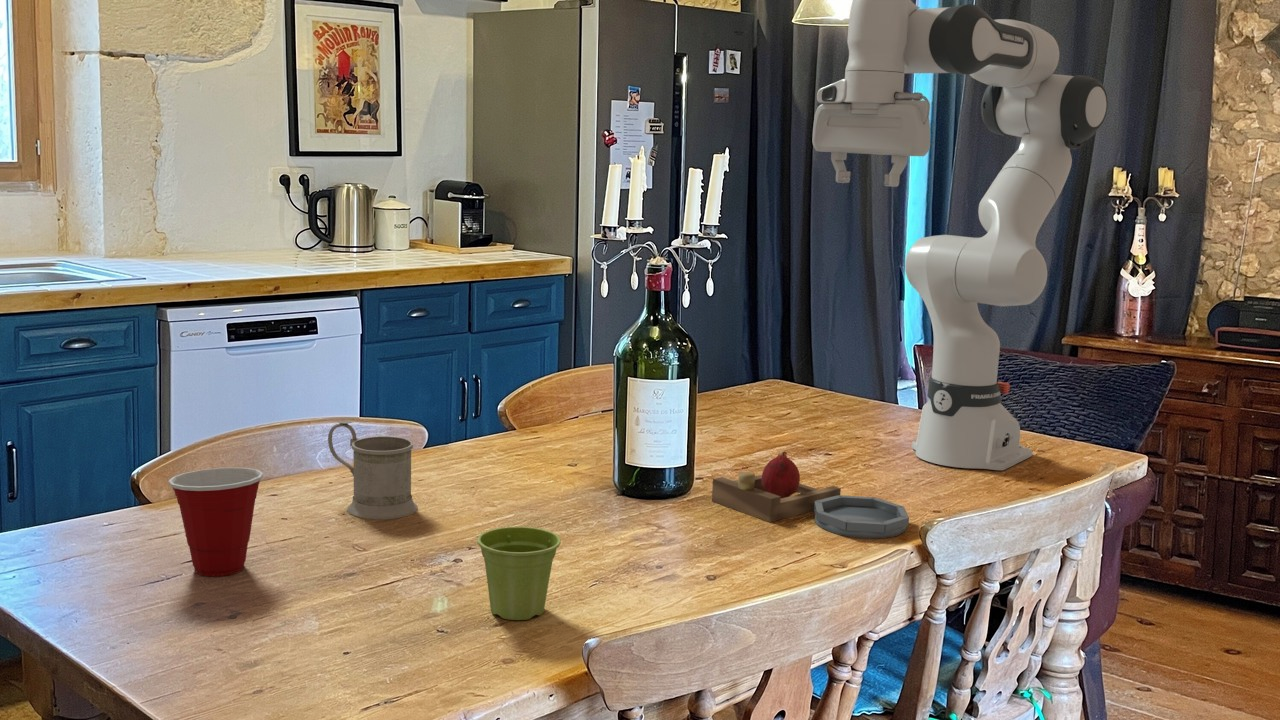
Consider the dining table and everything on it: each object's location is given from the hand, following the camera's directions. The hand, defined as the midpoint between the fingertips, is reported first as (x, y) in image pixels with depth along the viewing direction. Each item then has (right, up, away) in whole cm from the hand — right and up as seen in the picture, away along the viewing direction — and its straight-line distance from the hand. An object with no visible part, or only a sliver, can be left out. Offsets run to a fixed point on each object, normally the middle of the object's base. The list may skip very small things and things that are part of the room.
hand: (866, 184), depth 186 cm
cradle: (-13, -49, -1) cm, 50 cm away
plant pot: (-49, -56, -47) cm, 88 cm away
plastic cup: (-86, -53, -37) cm, 108 cm away
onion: (-13, -49, -1) cm, 51 cm away
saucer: (-3, -51, -10) cm, 52 cm away
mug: (-74, -48, -11) cm, 89 cm away
